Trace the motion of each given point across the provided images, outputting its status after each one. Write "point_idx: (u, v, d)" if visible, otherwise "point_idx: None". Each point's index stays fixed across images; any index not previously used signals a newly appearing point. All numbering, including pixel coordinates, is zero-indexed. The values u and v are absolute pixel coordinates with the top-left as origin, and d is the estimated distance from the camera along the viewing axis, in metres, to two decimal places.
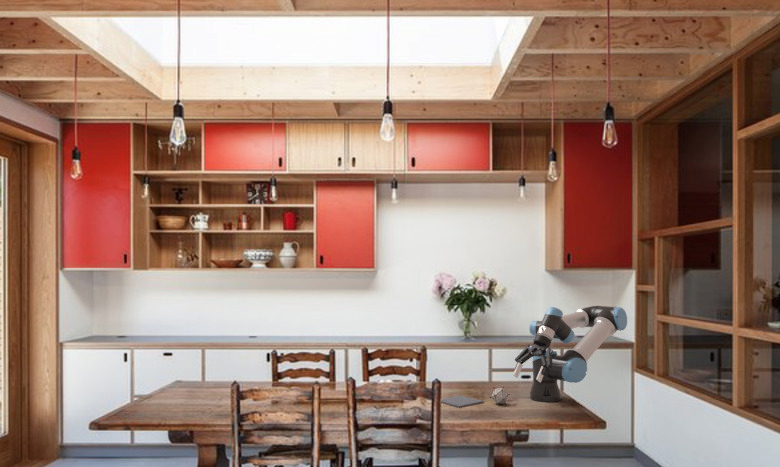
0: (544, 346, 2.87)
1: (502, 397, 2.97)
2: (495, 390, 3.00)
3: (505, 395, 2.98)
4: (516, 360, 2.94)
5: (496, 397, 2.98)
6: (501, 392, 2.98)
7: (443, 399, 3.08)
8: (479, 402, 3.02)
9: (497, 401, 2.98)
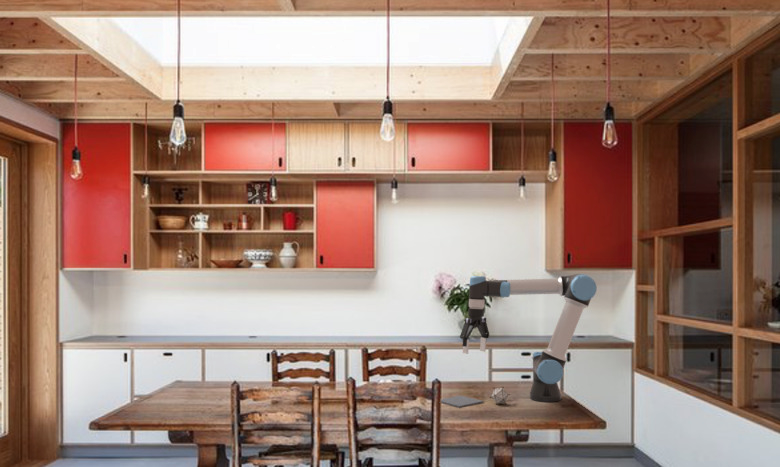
0: None
1: (502, 397, 2.97)
2: (495, 390, 3.00)
3: (505, 395, 2.98)
4: None
5: (496, 397, 2.98)
6: (501, 392, 2.98)
7: (443, 399, 3.08)
8: (479, 402, 3.02)
9: (497, 401, 2.98)
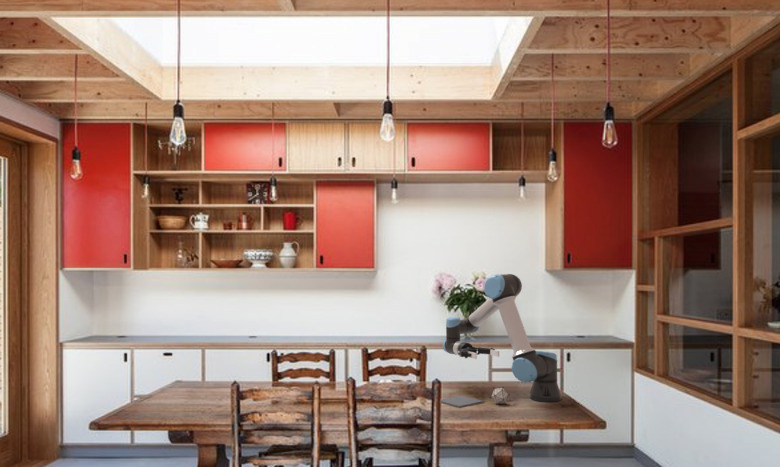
0: None
1: (502, 397, 2.97)
2: (495, 390, 3.00)
3: (505, 395, 2.98)
4: None
5: (496, 397, 2.98)
6: (501, 392, 2.98)
7: (443, 399, 3.08)
8: (479, 402, 3.02)
9: (497, 401, 2.98)
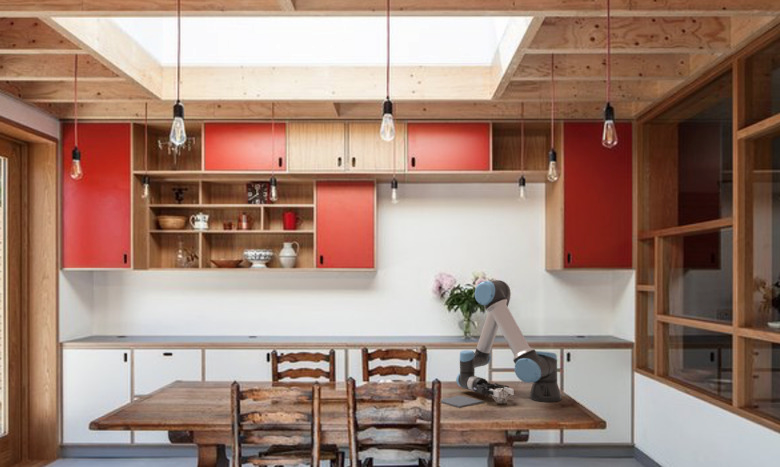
0: None
1: (503, 397, 2.97)
2: (496, 390, 3.00)
3: (506, 395, 2.98)
4: None
5: (497, 397, 2.98)
6: (502, 392, 2.98)
7: (443, 399, 3.08)
8: (479, 402, 3.02)
9: (498, 401, 2.98)
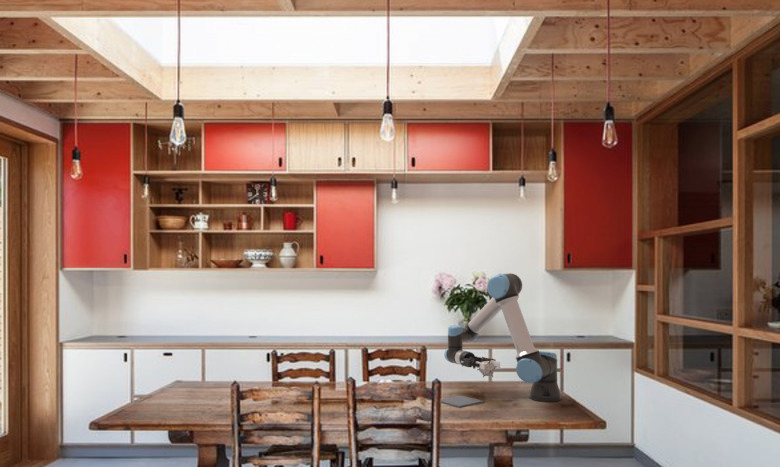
0: None
1: (489, 369, 3.00)
2: None
3: (492, 367, 3.01)
4: None
5: (483, 369, 3.01)
6: (488, 364, 3.01)
7: (443, 399, 3.08)
8: (479, 402, 3.02)
9: (484, 373, 3.01)
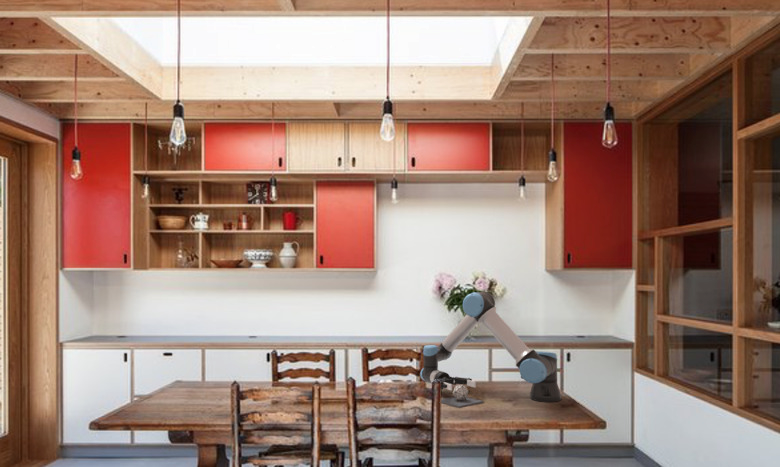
0: None
1: (462, 393, 3.02)
2: (456, 386, 3.05)
3: (465, 391, 3.03)
4: None
5: (456, 393, 3.03)
6: (461, 388, 3.03)
7: (443, 399, 3.08)
8: (479, 402, 3.02)
9: (458, 397, 3.03)
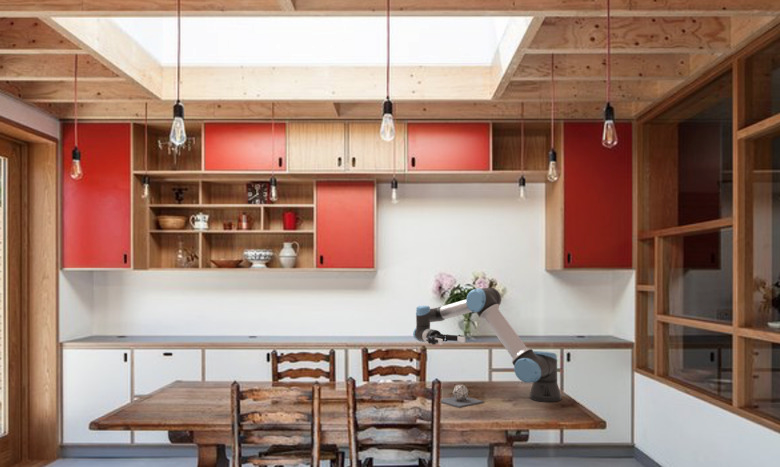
0: None
1: (462, 393, 3.02)
2: (456, 386, 3.05)
3: (465, 391, 3.03)
4: None
5: (456, 393, 3.03)
6: (461, 388, 3.03)
7: (443, 399, 3.08)
8: (479, 402, 3.02)
9: (458, 397, 3.03)
